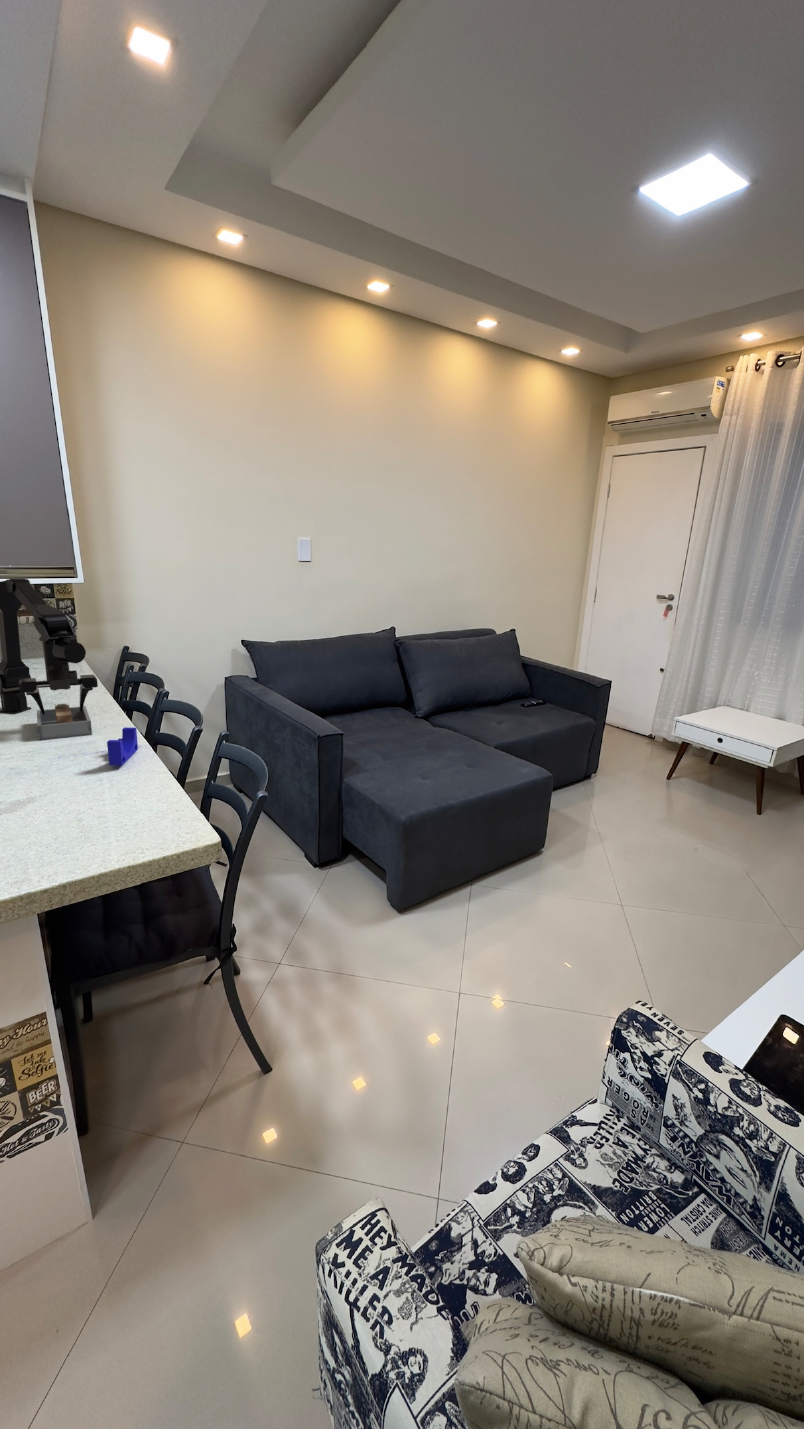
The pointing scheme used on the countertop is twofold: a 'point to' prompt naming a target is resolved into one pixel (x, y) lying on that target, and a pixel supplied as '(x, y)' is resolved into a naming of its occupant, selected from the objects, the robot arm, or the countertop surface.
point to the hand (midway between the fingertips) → (62, 712)
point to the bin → (63, 724)
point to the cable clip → (122, 747)
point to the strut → (63, 713)
